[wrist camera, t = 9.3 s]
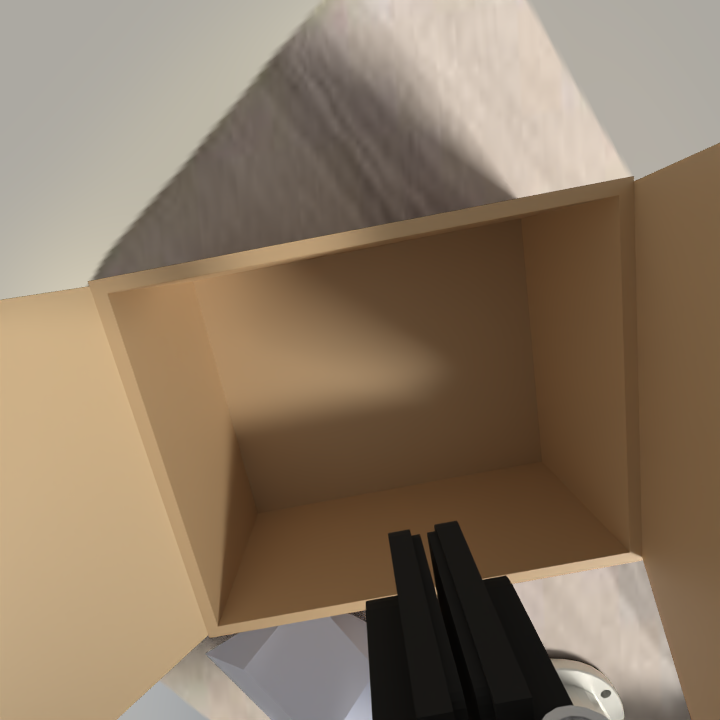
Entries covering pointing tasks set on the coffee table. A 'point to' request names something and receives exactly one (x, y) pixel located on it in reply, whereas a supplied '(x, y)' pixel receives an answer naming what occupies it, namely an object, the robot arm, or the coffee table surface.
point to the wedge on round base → (302, 668)
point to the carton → (391, 401)
